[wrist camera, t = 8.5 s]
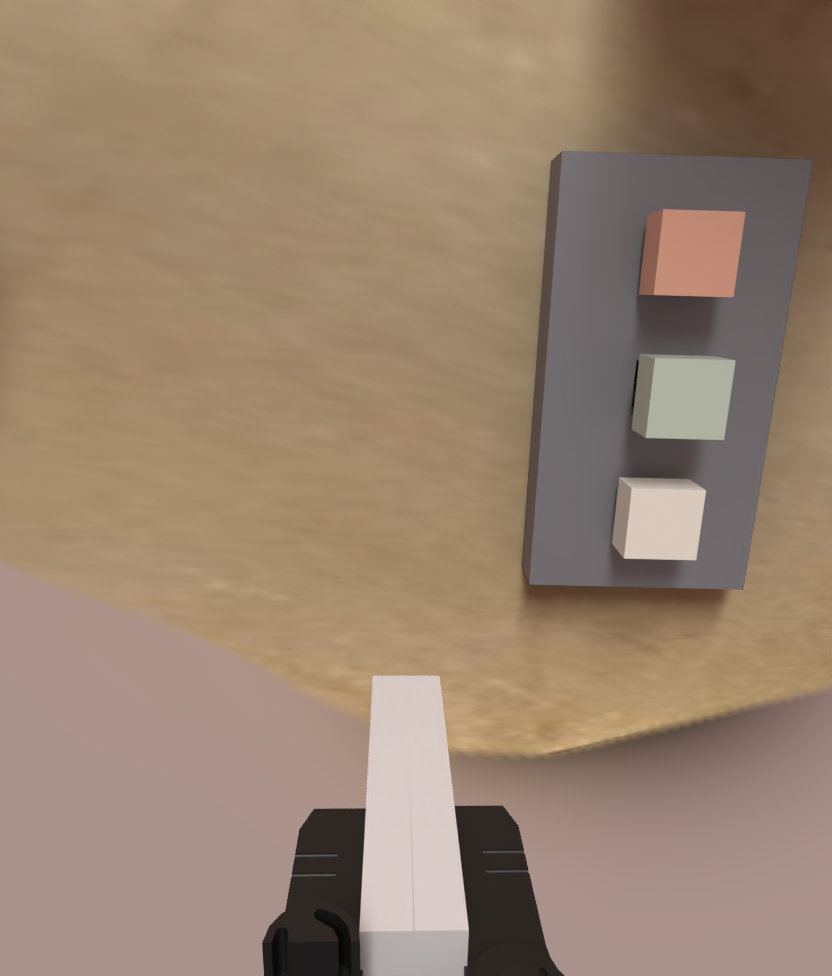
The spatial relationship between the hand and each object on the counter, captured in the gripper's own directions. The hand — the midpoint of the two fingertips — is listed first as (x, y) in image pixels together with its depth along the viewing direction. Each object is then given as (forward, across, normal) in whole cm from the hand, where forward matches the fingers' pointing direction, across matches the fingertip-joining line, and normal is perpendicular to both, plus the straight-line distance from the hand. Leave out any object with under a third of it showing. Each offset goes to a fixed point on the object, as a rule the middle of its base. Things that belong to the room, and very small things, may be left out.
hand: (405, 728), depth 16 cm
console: (+28, +15, +4) cm, 32 cm away
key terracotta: (+28, +15, +11) cm, 33 cm away
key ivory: (+27, +15, -3) cm, 31 cm away
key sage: (+26, +15, +4) cm, 30 cm away
